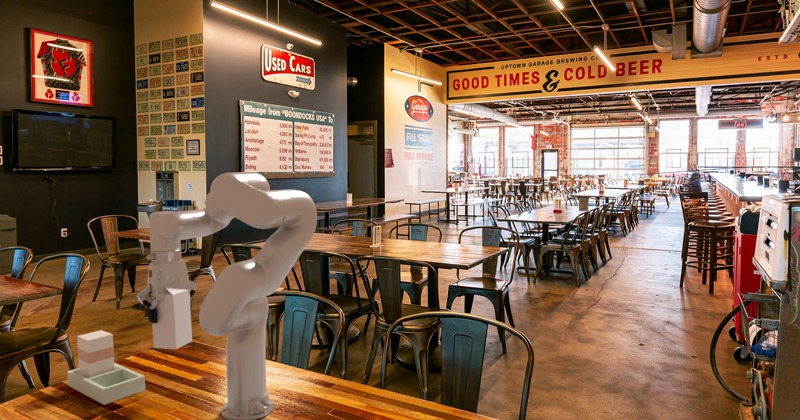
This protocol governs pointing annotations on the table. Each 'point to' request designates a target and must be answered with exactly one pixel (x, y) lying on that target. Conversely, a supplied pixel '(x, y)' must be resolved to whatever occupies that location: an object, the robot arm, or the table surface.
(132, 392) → the crate
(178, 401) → the table surface
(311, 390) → the table surface
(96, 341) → the oat carton
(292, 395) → the table surface
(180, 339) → the milk carton
